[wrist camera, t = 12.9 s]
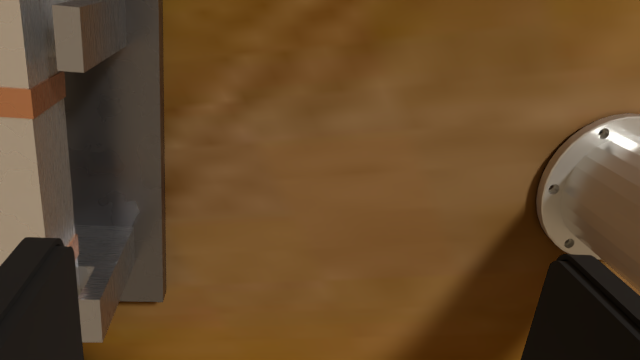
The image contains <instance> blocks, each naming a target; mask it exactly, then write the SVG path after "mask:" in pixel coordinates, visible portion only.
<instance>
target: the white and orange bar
mask: <svg viewBox="0 0 640 360" xmlns="http://www.w3.org/2000/svg"><path fill="white" fill-rule="evenodd" d="M53 4H56V0H0V266H1V264H2V263H3V262H4V261H5V260H6V259H7V257H8V256H9V255H10V254H11V253H12V251H13V250H14V249H15V248H16V247H17V246H18V244H19V243H20V242H21V241H22V240H23V239H24V238H25V237H41V238H60V239H61V240H62V241H63V244H64V246H71V247H72V248H73V250H74V255H75V266H76V278H77V289H78V298H79V296H80V282H79V270H78V259H77V257H78V255H79V243H78V234H75V223H74V211H73V200H72V188H71V176H70V164H69V153H68V141H67V129H66V117H65V105H64V97H66V87H65V75H64V71H57V60H56V48H55V37H54V26H53V14H52V5H53Z"/></svg>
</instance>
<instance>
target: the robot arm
mask: <svg viewBox="0 0 640 360" xmlns="http://www.w3.org/2000/svg"><path fill="white" fill-rule="evenodd" d="M536 205H537V215H538V218H539V221H540V225H541V227H542V228H543V230H544V232H545V234H546V235H547V236H548V237H549V238H550V239H551V240H552V241H553V242H554V244H555V245H557V246H558V247H559V248H560V249H561V250H563V251H564V252H566V253H569V254H563V255H561V256H560V257H559V258H558V259H557V261H554V262H552V263H551V264H550V266H549V269H548V272H547V275H546V278H545V282H544V285H543V288H542V292H541V295H540V298H539V302H538V305H537V308H536V311H535V315H534V318H533V321H532V325H531V328H530V331H529V335H528V338H527V341H526V344H525V348H524V351H523V354H522V358H521V360H640V296H639V295H638V294H637V293H636V292H634V291H633V290H632V289H631V288H630V287H629V286H628V285H626V284H625V283H624V282H623V281H622V280H621V279H619V278H618V277H617V276H616V275H615V274H614V273H613V272H611V271H610V270H609V269H608V268H607V267H606V266H605V265H603V264H602V263H601V262H600V261H599V260H603V261H605V262H606V263H607V264H608V265H609V266H610V267H612V268H613V269H614V270H615V271H616V272H617V273H619V274H620V275H621V276H622V277H623V278H624V279H626V280H627V281H628V282H629V283H630V284H631V285H632V286H634V287H635V288H636V289H637V290H638V291H639V292H640V114H630V113H627V114H619V115H612V116H609V117H606V118H603V119H599V120H597V121H595V122H593V123H591V124H589V125H587V126H585V127H583V128H582V129H581V130H579V131H578V132H576V133H575V134H574V135H572V136H571V137H570V138H569V139H568V140H567V141H566V142H565V143H564V144H563V145H562V146H561V147H560V148H559V149H558V150H557V151H556V153H555V154H554V155H553V157H552V158H551V159H550V161H549V163H548V165H547V166H546V168H545V170H544V172H543V174H542V177H541V180H540V183H539V186H538V192H537V199H536ZM0 360H84V358H83V346H82V335H81V324H80V312H79V301H78V289H77V278H76V266H75V255H74V250H73V248H72V247H71V246H64V244H63V241H62V240H61V239H60V238H41V237H25V238H24V239H23V240H22V241H21V242H20V243H19V244H18V246H17V247H16V248H15V249H14V250H13V251H12V253H11V254H10V255H9V256H8V257H7V259H6V260H5V261H4V262H3V263H2V264H1V266H0Z"/></svg>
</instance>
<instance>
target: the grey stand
mask: <svg viewBox="0 0 640 360" xmlns="http://www.w3.org/2000/svg"><path fill="white" fill-rule="evenodd" d="M52 14H53V26H54V37H55V48H56V60H57V71H64V75H65V87H66V97H64V105H65V117H66V129H67V141H68V153H69V164H70V176H71V188H72V200H73V211H74V223H75V234H78V243H79V255H78V257H77V259H78V270H79V282H80V296H79V298H78V301H79V312H80V324H81V335H82V342H103V340H104V338H105V335H106V333H107V330H108V328H109V325H110V323H111V320H112V318H113V316H114V313H115V311H116V308H117V306H118V303H119V301H134V302H163V300H164V297H165V293H166V242H165V163H164V84H163V6H162V0H56V4H53V5H52Z"/></svg>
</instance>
